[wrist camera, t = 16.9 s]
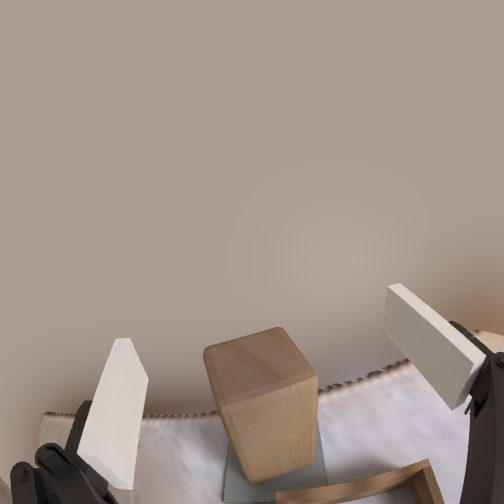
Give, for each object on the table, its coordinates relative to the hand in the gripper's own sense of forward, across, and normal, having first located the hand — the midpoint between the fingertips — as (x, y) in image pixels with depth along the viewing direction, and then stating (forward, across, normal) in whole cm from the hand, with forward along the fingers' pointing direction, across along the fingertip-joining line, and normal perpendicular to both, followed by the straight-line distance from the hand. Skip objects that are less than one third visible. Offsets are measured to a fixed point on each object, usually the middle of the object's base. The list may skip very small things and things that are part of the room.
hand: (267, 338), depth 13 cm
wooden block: (+11, 0, -32) cm, 33 cm away
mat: (+10, 0, -32) cm, 33 cm away
